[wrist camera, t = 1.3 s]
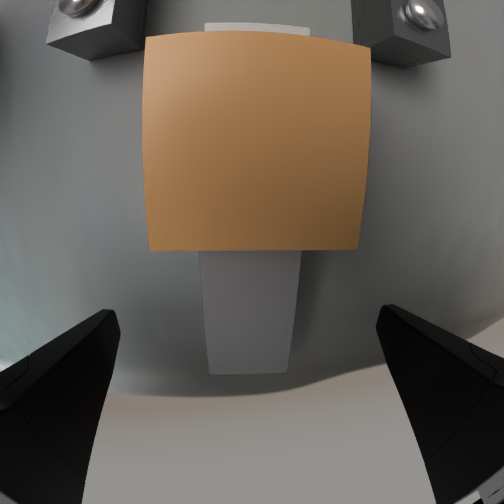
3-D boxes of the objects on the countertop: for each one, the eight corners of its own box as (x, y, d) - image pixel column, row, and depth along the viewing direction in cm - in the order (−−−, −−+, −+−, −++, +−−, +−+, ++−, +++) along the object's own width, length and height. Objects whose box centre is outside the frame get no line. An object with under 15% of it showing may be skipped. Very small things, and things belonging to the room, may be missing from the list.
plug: (296, 326, 12) (319, 405, 8) (193, 327, 12) (180, 410, 8) (314, 63, 8) (369, 23, 4) (183, 60, 8) (149, 11, 4)
